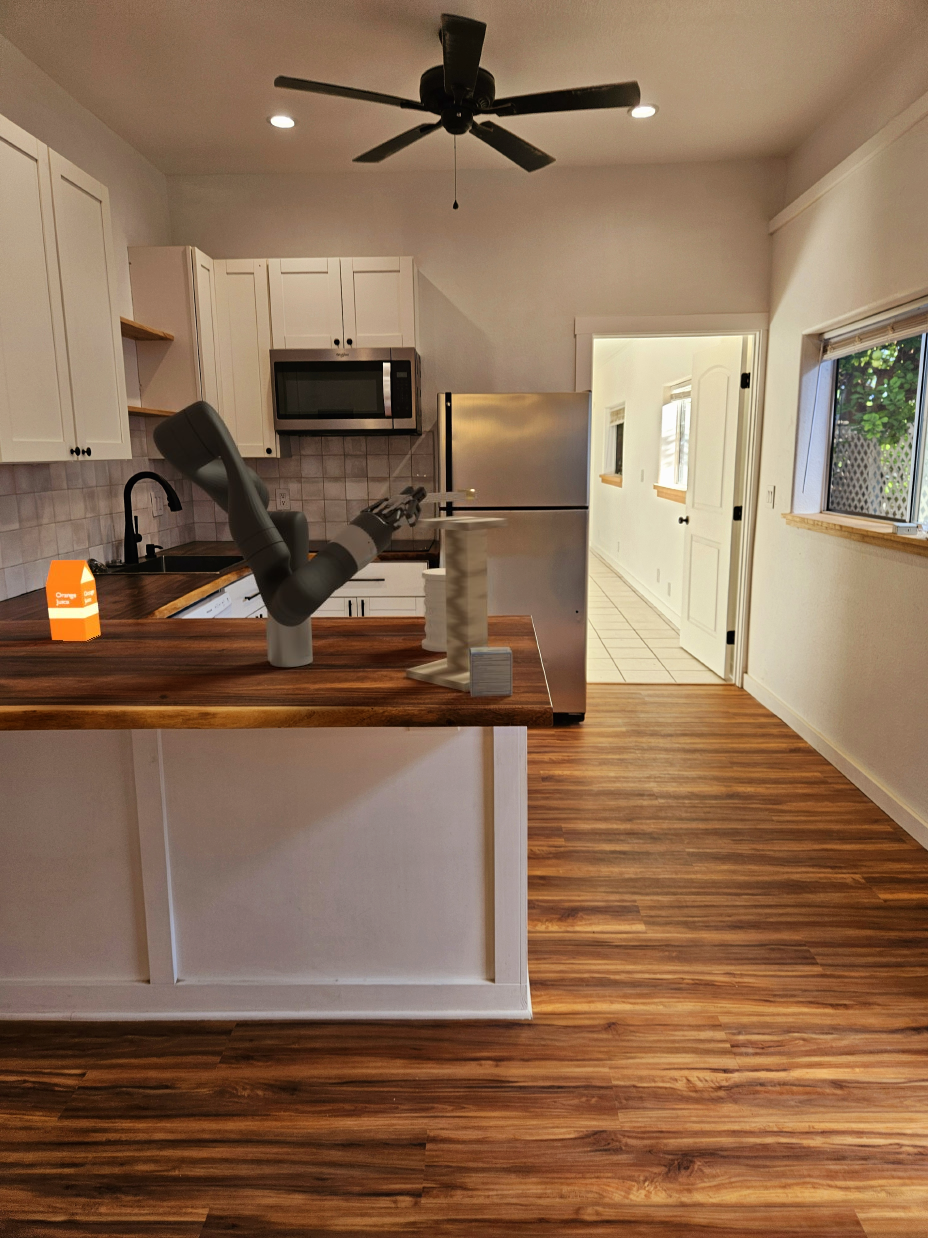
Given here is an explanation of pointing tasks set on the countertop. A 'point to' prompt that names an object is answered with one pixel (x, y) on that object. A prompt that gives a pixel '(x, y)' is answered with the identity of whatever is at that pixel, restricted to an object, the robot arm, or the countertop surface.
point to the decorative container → (435, 610)
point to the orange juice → (72, 601)
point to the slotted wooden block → (442, 496)
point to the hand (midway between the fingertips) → (417, 490)
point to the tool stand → (461, 597)
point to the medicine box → (490, 671)
